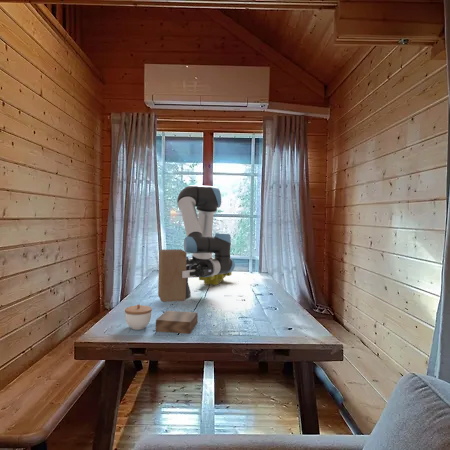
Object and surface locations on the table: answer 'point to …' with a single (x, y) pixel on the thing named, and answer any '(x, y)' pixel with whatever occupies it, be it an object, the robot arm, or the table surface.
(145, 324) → the lidded jar
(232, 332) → the table surface
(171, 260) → the wooden block
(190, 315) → the base brick
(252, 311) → the table surface
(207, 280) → the toy blocks
